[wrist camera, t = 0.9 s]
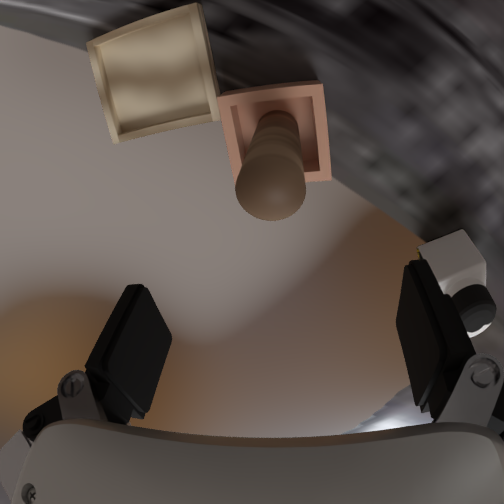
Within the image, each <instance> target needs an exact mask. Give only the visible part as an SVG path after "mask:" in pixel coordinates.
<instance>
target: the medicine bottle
mask: <svg viewBox="0 0 504 504" xmlns="http://www.w3.org/2000/svg"><path fill="white" fill-rule="evenodd" d="M417 253H418V258H419V260H420V259H426V260H427V262H428V264H429V265H430V267H431V269H432V271H433V273H434V275H435V277H436V279H437V281H438V283H439V285H440V287H441V290H442V292H443V294H449V295H450V296H451V298H452V300H453V302H454V304H455V306H456V308H457V310H458V313H459V315H460V317H461V319H462V321H463V324H464V326H465V328H466V331H467V333H468V335H469V338H470V337H473V336H475V335H477V334H479V333H481V332H482V331H484V330H485V329H486V328H487V327H488V326H489V325H490V324H491V323H492V321H493V319H494V317H495V314H496V305H495V303H494V301H493V299H492V297H491V295H490V293H489V292H488V290H487V288H486V261H485V260H484V258H483V257H482V255H481V254H480V252H479V251H478V249H477V248H476V246H475V245H474V243H473V242H472V241H471V239H470V238H469V236H468V235H467V234H466V232H465V231H464V230H463V229H461V230H458V231H456V232H453V233H451V234H448V235H446V236H443V237H441V238H438V239H436V240H433V241H430V242H428V243H425V244H423V245H420V246H418V247H417Z"/></svg>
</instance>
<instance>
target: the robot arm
mask: <svg viewBox="0 0 504 504" xmlns="http://www.w3.org/2000/svg"><path fill="white" fill-rule="evenodd" d="M396 327H397V331H398V335H399V339H400V342H401V346H402V350H403V354H404V358H405V362H406V366H407V370H408V375H409V379H410V383H411V388H412V393H413V397H414V402H415V405H416V406H420V409H421V413H424V412H429V411H430V414H431V418H433V421H432V423H428V424H421V425H414V426H406V427H400V428H394V429H387V430H379V431H371V432H362V433H353V434H343V435H333V436H332V435H331V436H316V437H293V438H248V437H247V438H246V437H224V436H208V435H197V434H187V433H178V432H169V431H161V430H155V429H148V428H142V427H135V426H131V424H130V422H129V420H130V417H132V418H138V419H144V416H145V413H147V412H148V411H149V410H150V407H151V403H152V400H153V397H154V394H155V391H156V387H157V384H158V381H159V378H160V375H161V372H162V369H163V366H164V363H165V360H166V357H167V354H168V351H169V348H170V345H171V342H172V336H171V333H170V331H169V329H168V327H167V325H166V323H165V322H164V319H163V317H162V316H161V314H160V312H159V310H158V308H157V306H156V304H155V302H154V300H153V298H152V296H151V294H150V292H149V290H148V288H146V287H144V285H142V284H132V285H128V286H127V287H126V288H125V290H124V292H123V293H122V296H121V297H120V299H119V301H118V302H117V304H116V306H115V308H114V310H113V312H112V314H111V315H110V317H109V319H108V321H107V323H106V325H105V327H104V329H103V331H102V332H101V334H100V336H99V338H98V340H97V342H96V344H95V346H94V348H93V350H92V352H91V354H90V356H89V358H88V361H87V362H86V364H85V368H86V372H85V373H84V372H83V371H80V370H73V371H71V372H69V373H68V374H66V375H65V376H64V377H63V378H62V379H61V381H60V383H59V385H58V388H57V393H58V395H57V396H55V397H53V398H52V399H51V400H49V401H47V402H45V403H44V404H42V405H40V406H39V407H37V408H35V409H34V410H32V411H31V412H30V413H28V415H27V416H26V417H25V419H24V422H23V431H21V430H19V431H18V432H17V433H16V434H15V435H14V436H13V437H12V438H11V439H10V440H9V441H8V442H7V443H6V444H5V446H4V447H3V448H2V449H1V450H0V482H1V483H2V485H3V487H4V489H5V491H6V493H7V495H8V497H9V499H10V501H11V502H12V503H11V504H504V369H503V367H502V365H501V363H500V362H499V361H498V360H497V358H495V357H493V356H492V355H489V354H485V353H484V354H477V355H476V352H475V350H474V347H473V345H472V343H471V340H470V338H469V335H468V333H467V331H466V328H465V326H464V324H463V321H462V319H461V317H460V315H459V313H458V310H457V308H456V306H455V304H454V302H453V300H452V298H451V296H450V295H449V294H443V292H442V290H441V287H440V285H439V283H438V281H437V279H436V277H435V275H434V273H433V271H432V269H431V267H430V265H429V264H428V262H427V260H426V259H420V260H411V261H410V262H409V265H406V266H405V267H404V273H403V280H402V287H401V294H400V300H399V306H398V311H397V317H396Z"/></svg>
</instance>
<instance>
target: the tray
mask: <svg viewBox="0 0 504 504" xmlns="http://www.w3.org/2000/svg"><path fill="white" fill-rule="evenodd" d="M86 44H87V49H88V53H89V57H90V61H91V65H92V70H93V74H94V78H95V81H96V85H97V89H98V93H99V97H100V100H101V104H102V107H103V111H104V114H105V118H106V121H107V124H108V128H109V131H110V134H111V138H112V141H113V144H116V143H120V142H124V141H128V140H131V139H135V138H139V137H143V136H147V135H151V134H155V133H159V132H164V131H168V130H173V129H177V128H182V127H187V126H192V125H197V124H202V123H207V122H213V121H219V120H221V116H220V111H219V107H218V102H217V97H218V96H219V95H221V94H220V90H219V85H218V80H217V75H216V70H215V65H214V61H213V56H212V51H211V46H210V41H209V37H208V32H207V27H206V22H205V17H204V12H203V8H202V5H201V4H199V3H193V4H189V5H185V6H182V7H178V8H175V9H171V10H168V11H165V12H162V13H159V14H156V15H153V16H150V17H147V18H144V19H141V20H139V21H136V22H133V23H131V24H128V25H126V26H123V27H121V28H118V29H116V30H113V31H111V32H109V33H106V34H104V35H102V36H100V37H97V38H95V39H93V40H91V41H89V42H87V43H86Z"/></svg>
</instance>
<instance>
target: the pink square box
mask: <svg viewBox="0 0 504 504" xmlns="http://www.w3.org/2000/svg"><path fill="white" fill-rule="evenodd" d="M217 102H218V107H219V111H220V116H221V121H222V126H223V130H224V135H225V140H226V144H227V149H228V154H229V159H230V163H231V168H232V173H233V177H234V181H235V185H236V180H237V177H238V175H239V172H240V169H241V166H242V164H243V161H244V158H245V156H246V153H247V150H248V148H249V145H250V143H251V140H252V137H253V135H254V132H255V130H256V127H257V124H258V122H259V120H260V118H261V117H262V116H263V115H264V114H265V113H267V112H269V111H272V110H282V111H286V112H288V113H289V114H291V115H292V116H293V117H294V118H295V120H296V121H297V124H298V128H299V135H300V143H301V151H302V159H303V167H304V176H305V182H315V181H328V180H332V179H331V164H330V151H329V139H328V128H327V118H326V108H325V99H324V91H323V84H322V83H321V82H320V81H319V80H310V81H298V82H288V83H279V84H271V85H263V86H256V87H249V88H242V89H236V90H230V91H225V92H224V93H222V94H221V95H219V96H218V97H217Z"/></svg>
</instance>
